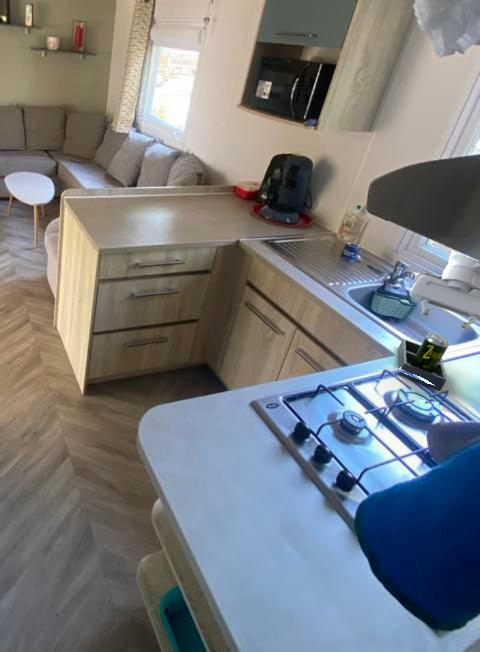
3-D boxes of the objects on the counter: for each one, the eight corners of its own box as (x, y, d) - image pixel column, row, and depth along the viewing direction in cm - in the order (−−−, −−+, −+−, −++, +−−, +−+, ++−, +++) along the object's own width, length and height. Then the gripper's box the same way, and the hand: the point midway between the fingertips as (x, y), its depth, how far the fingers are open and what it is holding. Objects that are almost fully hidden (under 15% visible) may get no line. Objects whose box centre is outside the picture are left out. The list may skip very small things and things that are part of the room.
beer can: (406, 364, 126) (424, 330, 121) (426, 370, 124) (446, 336, 119) (411, 374, 121) (430, 340, 116) (432, 381, 119) (453, 346, 114)
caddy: (434, 362, 130) (441, 352, 129) (439, 391, 117) (446, 380, 115) (397, 348, 135) (403, 338, 133) (398, 374, 122) (404, 363, 120)
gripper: (421, 265, 129) (404, 302, 125) (507, 291, 118) (492, 333, 115) (415, 274, 134) (399, 310, 131) (497, 300, 123) (482, 340, 120)
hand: (443, 321), depth 122 cm, fingers open, 8 cm apart
